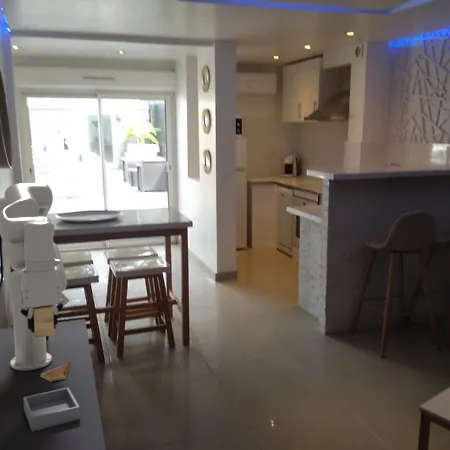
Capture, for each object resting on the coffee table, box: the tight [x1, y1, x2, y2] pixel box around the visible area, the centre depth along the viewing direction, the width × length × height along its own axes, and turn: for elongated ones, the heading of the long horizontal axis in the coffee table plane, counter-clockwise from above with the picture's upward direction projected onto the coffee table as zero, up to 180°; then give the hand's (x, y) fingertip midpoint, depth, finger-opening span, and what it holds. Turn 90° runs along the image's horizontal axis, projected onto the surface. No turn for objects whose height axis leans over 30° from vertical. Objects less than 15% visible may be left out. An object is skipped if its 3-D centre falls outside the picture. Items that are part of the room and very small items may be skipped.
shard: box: [40, 362, 71, 383], centre depth 155 cm, size 11×8×2 cm
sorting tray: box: [22, 387, 81, 433], centre depth 132 cm, size 12×12×4 cm
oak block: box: [32, 306, 55, 338], centre depth 140 cm, size 5×5×8 cm
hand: (42, 328), depth 140 cm, fingers closed on oak block, 5 cm apart
